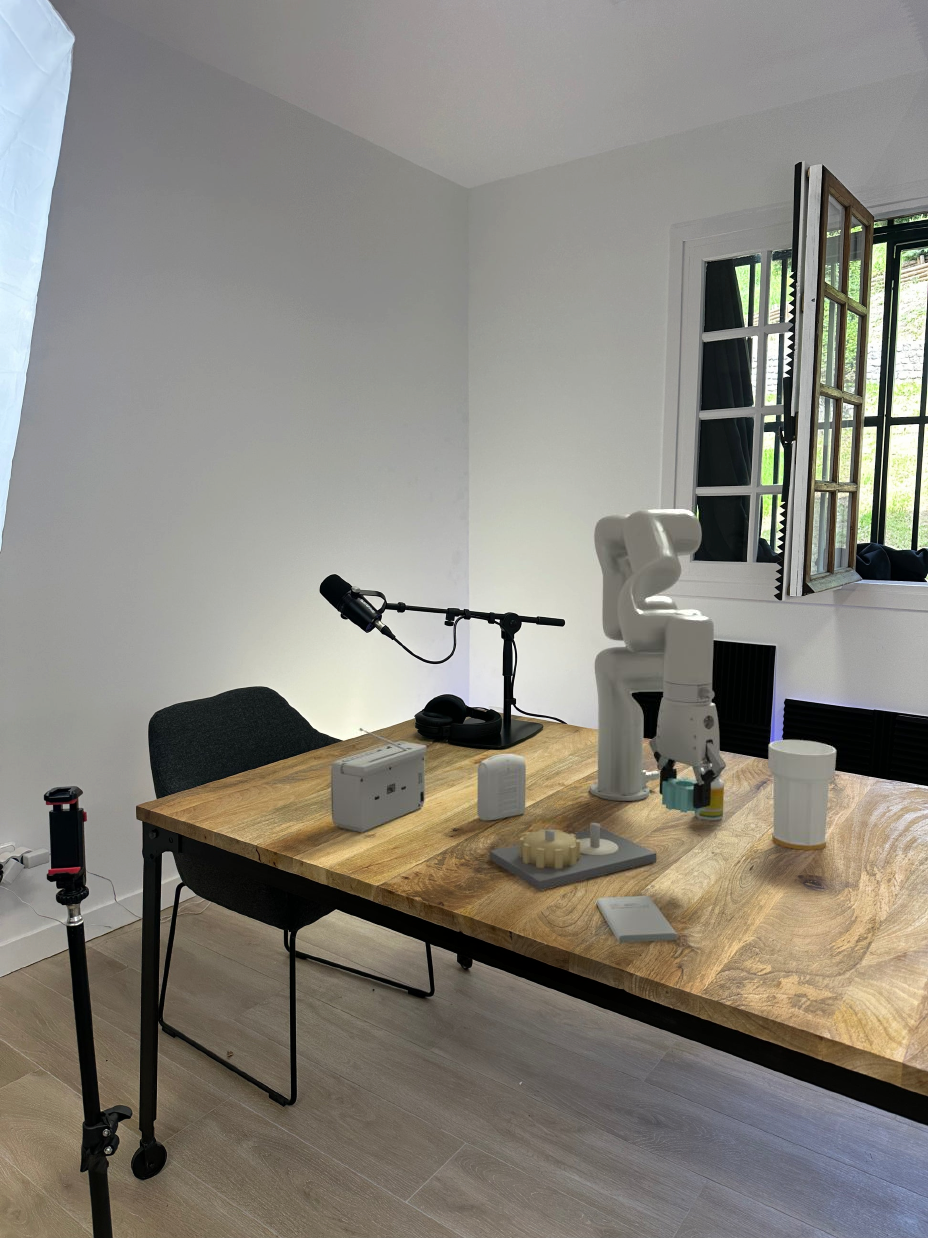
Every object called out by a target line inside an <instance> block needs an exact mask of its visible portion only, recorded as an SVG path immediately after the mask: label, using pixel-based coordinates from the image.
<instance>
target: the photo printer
mask: <svg viewBox="0 0 928 1238" xmlns="http://www.w3.org/2000/svg"><path fill="white" fill-rule="evenodd" d="M526 765H527V764H526V761H525V758H524V757H523V756H521V755H518V754H516V753H515V754H514V753H499V754H495V755H493V756H489V757H486V759H483V760H482V761H481V762H479V764H478V765H477V766H478V767H477V801H476V803H477V816H478V819H479V820H481V821H484V822H488V821H495V820H499V819H504V818H508V817H515V816H519V815H523V814H525V812H526V786H527V785H526V782H527V781H526V777H527V776H526V773H527V771H526V770H527V769H526V767H527V766H526Z"/></svg>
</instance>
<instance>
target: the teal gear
mask: <svg viewBox="0 0 928 1238" xmlns="http://www.w3.org/2000/svg"><path fill="white" fill-rule="evenodd" d="M695 783H697V781H696V779H689V777H681V778H677V779H674V778H669V779H668V782H667V781H663V785H662V796H661V797H662V798H661V805H665V808H666V809H667V810H669V811H670V810H674V811H680V813H688V812H695V811H696V812H701V811H702V808H698V809H696V808H694V807H693V787H694V784H695ZM703 808H707V807H703Z"/></svg>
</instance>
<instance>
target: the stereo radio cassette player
mask: <svg viewBox="0 0 928 1238" xmlns="http://www.w3.org/2000/svg"><path fill="white" fill-rule="evenodd" d="M359 731H360V732H364V733H366V734H368V735H370V736H372V737H374V738H376V739H378V740H381V741H383V742H384V743H387V744H386V745H384V746H380V747H377V748H374V749H371V750H367V751H364V752H360V753H358V754H353V755H352V756H348V757H347V756H346V757H344V758H341V759H338V760H335V761H333V762H332V763H331V766H330V804H331V805H330V806H331V807H330V809H331V811H330V812H331V820H332V821H331V822H332V823H333V824H334V825H337V827H338V828H341V829H344V830H345V829H346V830H350V831H354V832H359V833H361V834H363V833H364V832H366V831H368V830H371V829H374V828H376V827H379V826H381V825H383V824H385V823H387V822H390V821H392V820H395V819H397V818H400V817H402V816H405V815H407V814H409V813H411V812H414V811H417V810H420V809H421V808H424V804H425V799H426V795H425V793H426V792H425V791H426V788H425V787H426V784H425V783H426V780H425V779H426V778H425V777H426V775H425V774H426V773H425V771H426V769H425V761H426V760H425V756H426V755H427V754H428V748H427V745H424V744H418V743H414V742H409V741H408V742H407V741H403V740H400V741H396V742H393V741H391V740H389V739H387V738H384V737H381V736H379V735H376V734H374V733H372V732H370V731H367V730H364V728H362V727H360V728H359Z"/></svg>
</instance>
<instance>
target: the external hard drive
mask: <svg viewBox="0 0 928 1238" xmlns="http://www.w3.org/2000/svg"><path fill="white" fill-rule="evenodd" d="M596 905H597V907H598V909H599V910H600V912H601V914H602V916H603V918H604V919H605V921H606V923H607V924H608V927H609V928H610V929H611V931H612V934H613V935H614V937H615V938H616V941H617V942H618V943H619V944H620V943H639V942H640V943H641V942H659V941H664V942H665V941H678V933H677V931H676V930H675V929H674V928H673V926H672V925H671V924H670V922H669V921H668V920H667V918H666V917H665V916H664V915H663V913H662V911H661V910H660V909H659V907H658V906H657V905H656V904H655V902H654V901H653V899H652V898H651V897H650V896H649V895H637V896H634V895H633V896H613V897H610V896H609V897H599V898H597V899H596Z"/></svg>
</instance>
